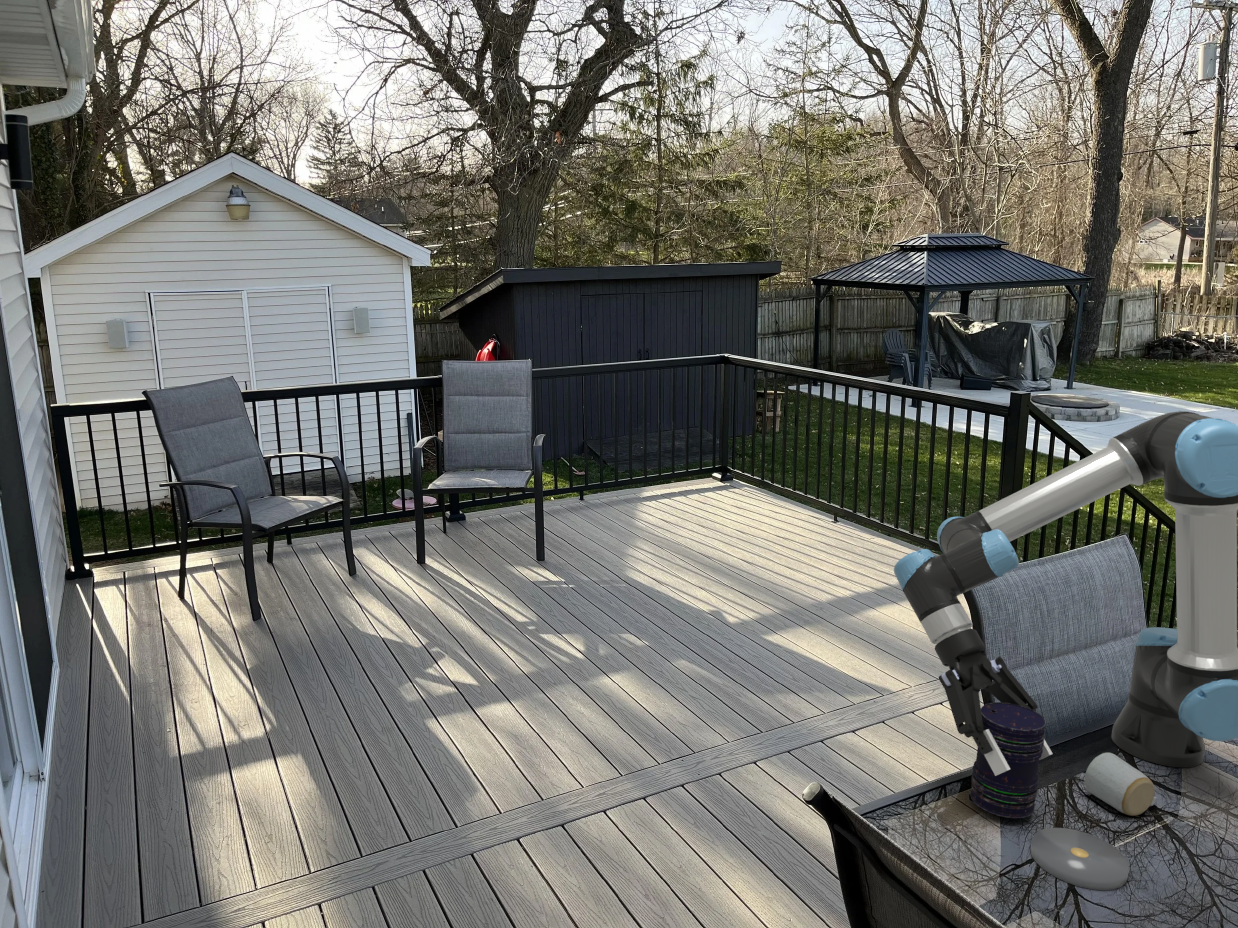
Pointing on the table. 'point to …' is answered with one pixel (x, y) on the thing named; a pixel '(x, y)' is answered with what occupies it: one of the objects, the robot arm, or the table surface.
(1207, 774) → the table surface
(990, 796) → the navy cylinder
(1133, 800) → the ceramic mug
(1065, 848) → the grey flat round disc
